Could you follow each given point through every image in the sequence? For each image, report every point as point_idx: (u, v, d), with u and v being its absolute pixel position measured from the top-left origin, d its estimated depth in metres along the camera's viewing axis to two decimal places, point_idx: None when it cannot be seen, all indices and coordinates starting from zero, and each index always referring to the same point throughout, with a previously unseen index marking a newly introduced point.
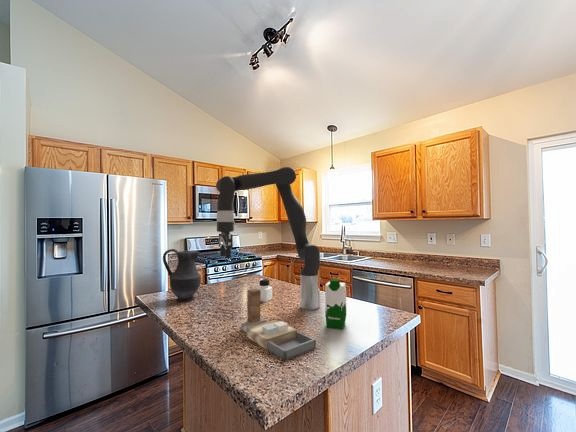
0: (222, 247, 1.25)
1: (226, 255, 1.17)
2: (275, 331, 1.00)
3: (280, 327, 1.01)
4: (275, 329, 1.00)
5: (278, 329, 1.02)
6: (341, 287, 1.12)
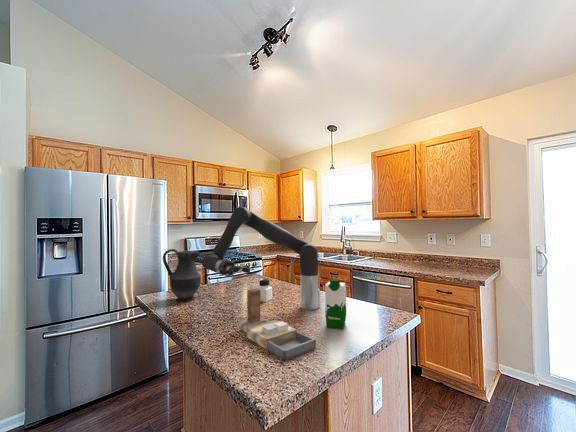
0: (244, 270, 1.29)
1: (230, 274, 1.21)
2: (275, 331, 1.00)
3: (280, 327, 1.01)
4: (275, 329, 1.00)
5: (278, 329, 1.02)
6: (341, 287, 1.12)
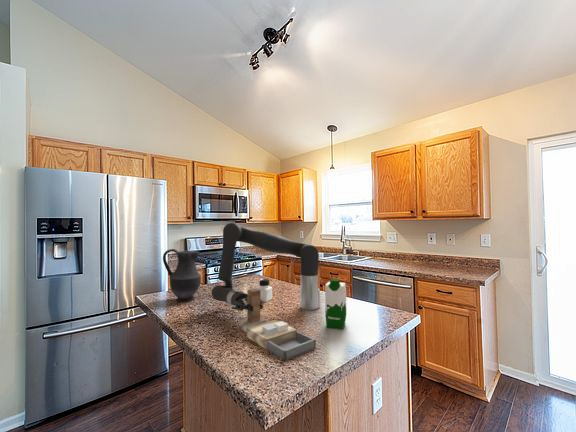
0: None
1: (250, 310, 1.11)
2: (275, 331, 1.00)
3: (280, 327, 1.01)
4: (275, 329, 1.00)
5: (278, 329, 1.02)
6: (341, 287, 1.12)
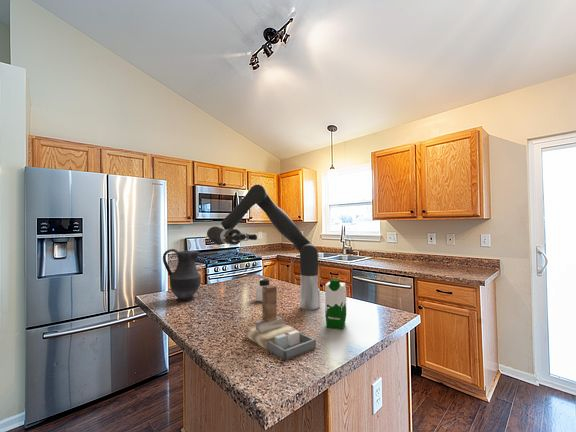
0: (250, 237, 1.24)
1: (236, 240, 1.16)
2: None
3: None
4: None
5: (288, 342, 0.97)
6: (341, 287, 1.12)
